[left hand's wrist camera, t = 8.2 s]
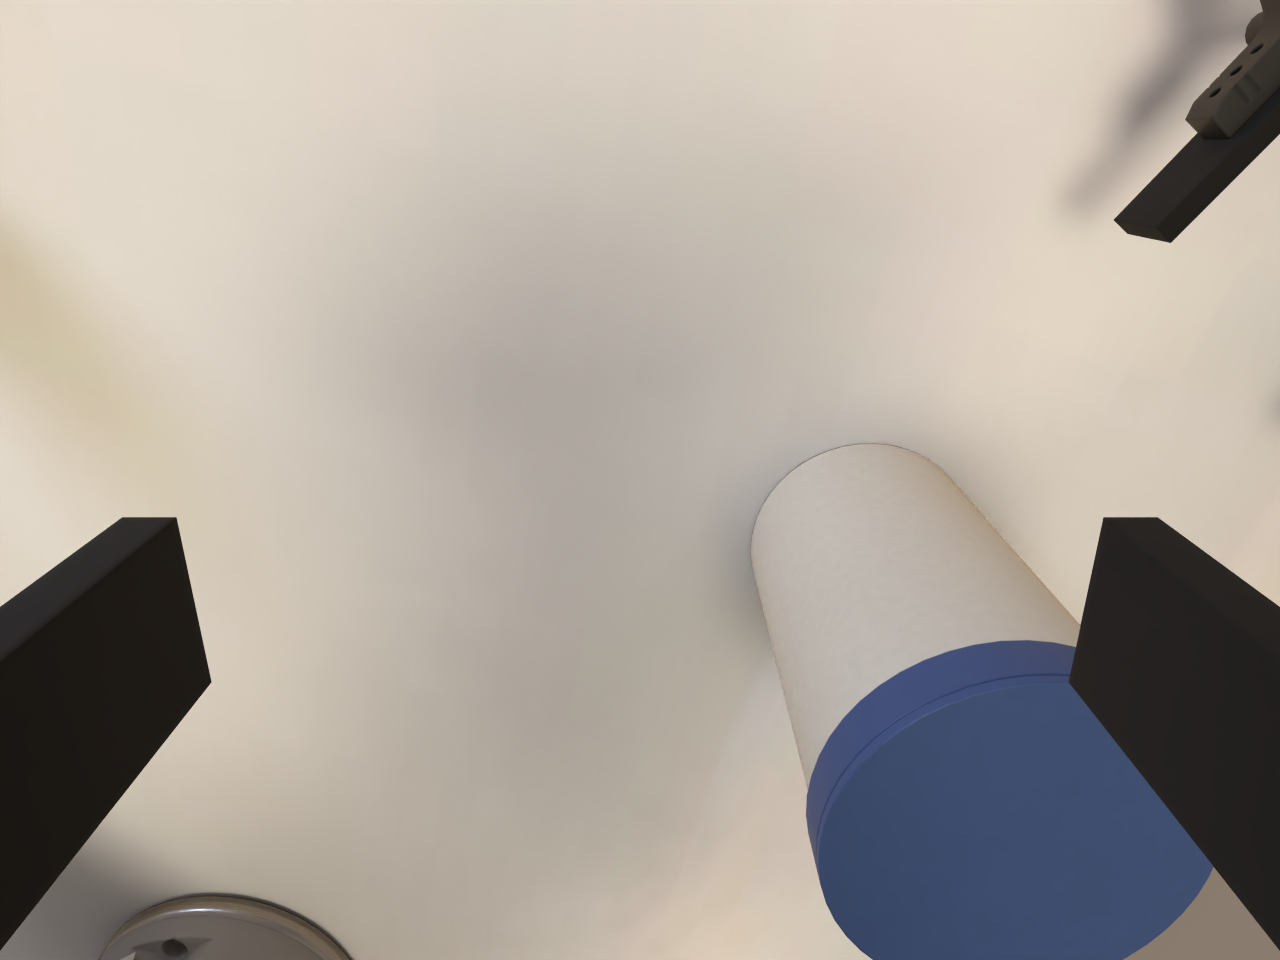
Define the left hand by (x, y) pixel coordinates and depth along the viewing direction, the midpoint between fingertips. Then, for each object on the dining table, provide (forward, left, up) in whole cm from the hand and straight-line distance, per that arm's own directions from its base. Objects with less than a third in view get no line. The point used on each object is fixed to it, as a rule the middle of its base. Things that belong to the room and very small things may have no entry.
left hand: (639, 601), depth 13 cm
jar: (-3, -15, -26) cm, 30 cm away
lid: (-3, -15, -7) cm, 17 cm away
